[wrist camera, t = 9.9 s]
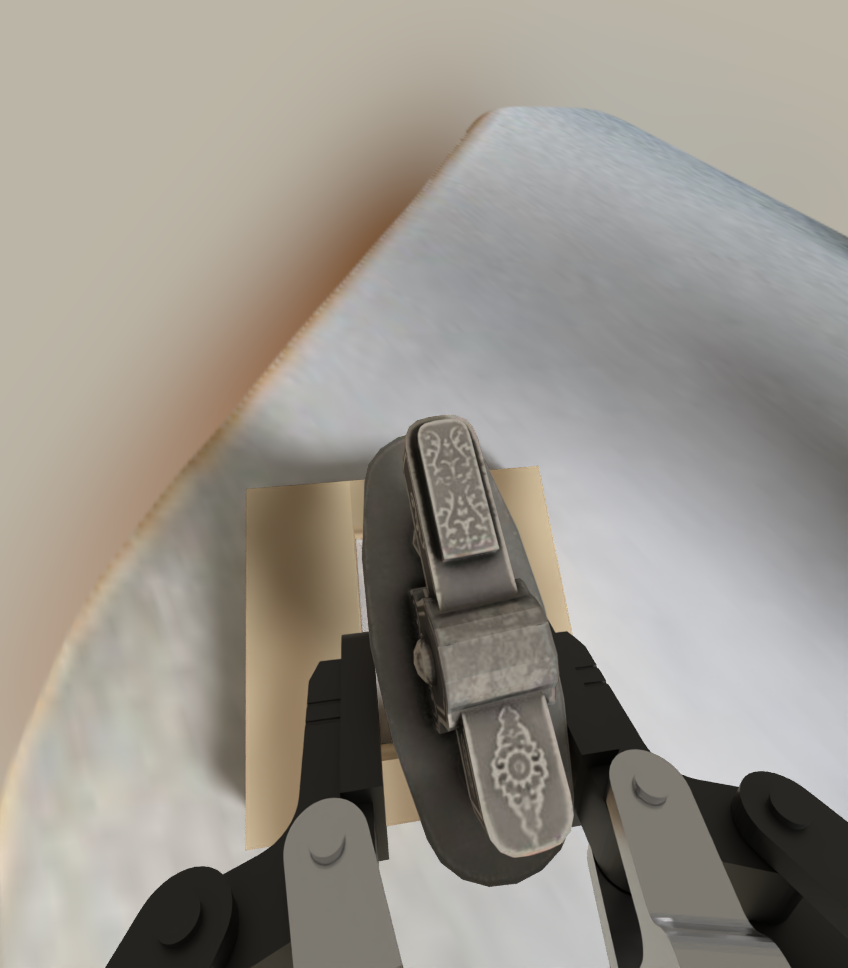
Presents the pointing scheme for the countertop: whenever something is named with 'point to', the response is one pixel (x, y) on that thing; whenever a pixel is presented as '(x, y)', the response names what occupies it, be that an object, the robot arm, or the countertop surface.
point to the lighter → (464, 657)
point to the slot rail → (332, 625)
